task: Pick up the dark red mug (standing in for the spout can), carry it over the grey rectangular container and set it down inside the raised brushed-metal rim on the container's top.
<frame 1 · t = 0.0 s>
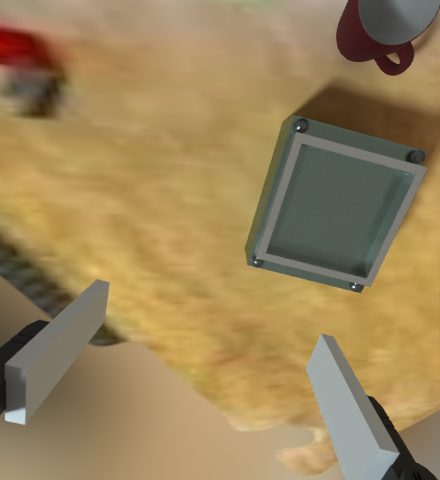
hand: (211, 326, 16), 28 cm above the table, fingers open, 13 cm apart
mug: (359, 48, 35), on the table
grey rectangular container: (314, 203, 41), on the table
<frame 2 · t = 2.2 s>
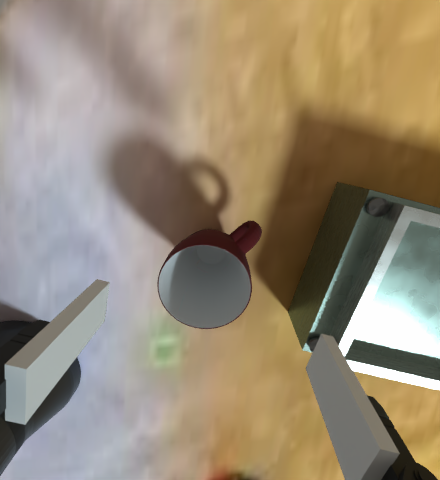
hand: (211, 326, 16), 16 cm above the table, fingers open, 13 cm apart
mug: (218, 241, 32), on the table
grey rectangular container: (389, 271, 32), on the table
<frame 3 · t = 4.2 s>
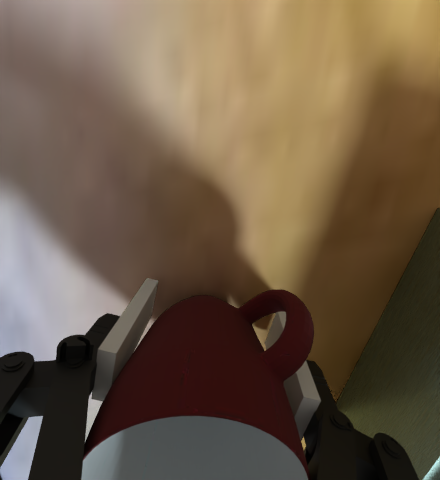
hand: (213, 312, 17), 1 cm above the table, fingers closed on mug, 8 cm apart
mug: (215, 306, 18), on the table, touching gripper
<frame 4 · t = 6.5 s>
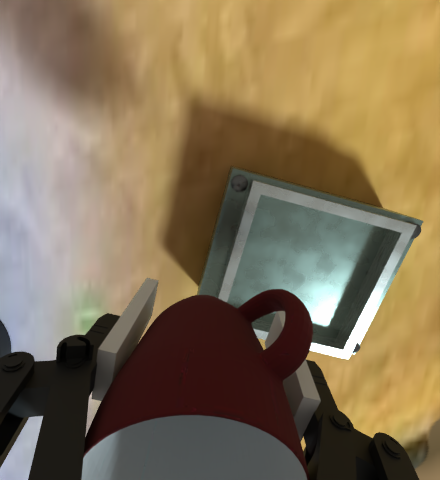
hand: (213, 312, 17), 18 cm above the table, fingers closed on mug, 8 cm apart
mug: (214, 306, 18), point 17 cm above the table, touching gripper
grey rectangular container: (285, 249, 35), on the table
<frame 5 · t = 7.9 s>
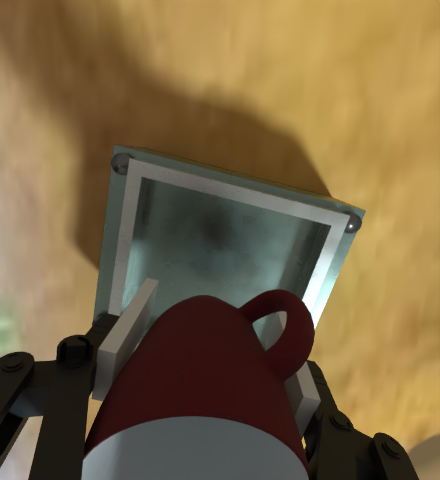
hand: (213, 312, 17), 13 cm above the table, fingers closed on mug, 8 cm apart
mug: (215, 306, 18), point 12 cm above the table, touching gripper
grey rectangular container: (219, 248, 29), on the table
when the fingers open (10 cm above the table, at t = 8.8 s): mug drops 2 cm, resting on grey rectangular container.
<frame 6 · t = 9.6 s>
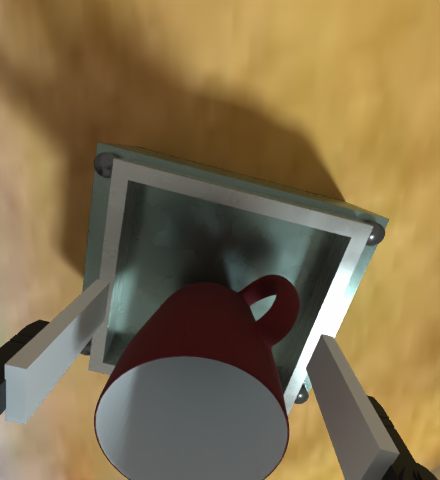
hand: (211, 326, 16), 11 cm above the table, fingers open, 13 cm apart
mug: (219, 293, 20), point 7 cm above the table, touching grey rectangular container
grey rectangular container: (219, 258, 27), on the table
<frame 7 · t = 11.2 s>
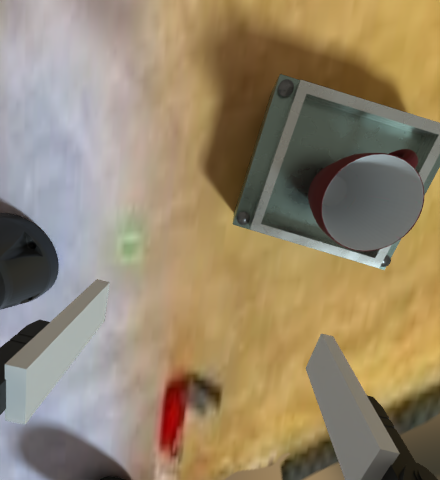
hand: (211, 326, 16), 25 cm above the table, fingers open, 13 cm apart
mug: (338, 182, 31), point 7 cm above the table, touching grey rectangular container
grey rectangular container: (319, 176, 37), on the table
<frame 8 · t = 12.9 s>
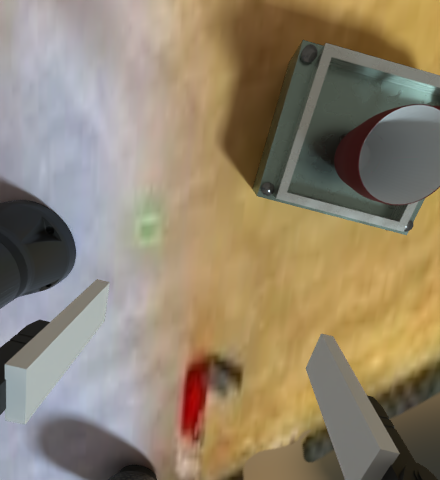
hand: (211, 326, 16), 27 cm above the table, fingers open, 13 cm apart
mug: (361, 148, 31), point 7 cm above the table, touching grey rectangular container
planter: (138, 476, 61), on the table
grey rectangular container: (336, 148, 37), on the table
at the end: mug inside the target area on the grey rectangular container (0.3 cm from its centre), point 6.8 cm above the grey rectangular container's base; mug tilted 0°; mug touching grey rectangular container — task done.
